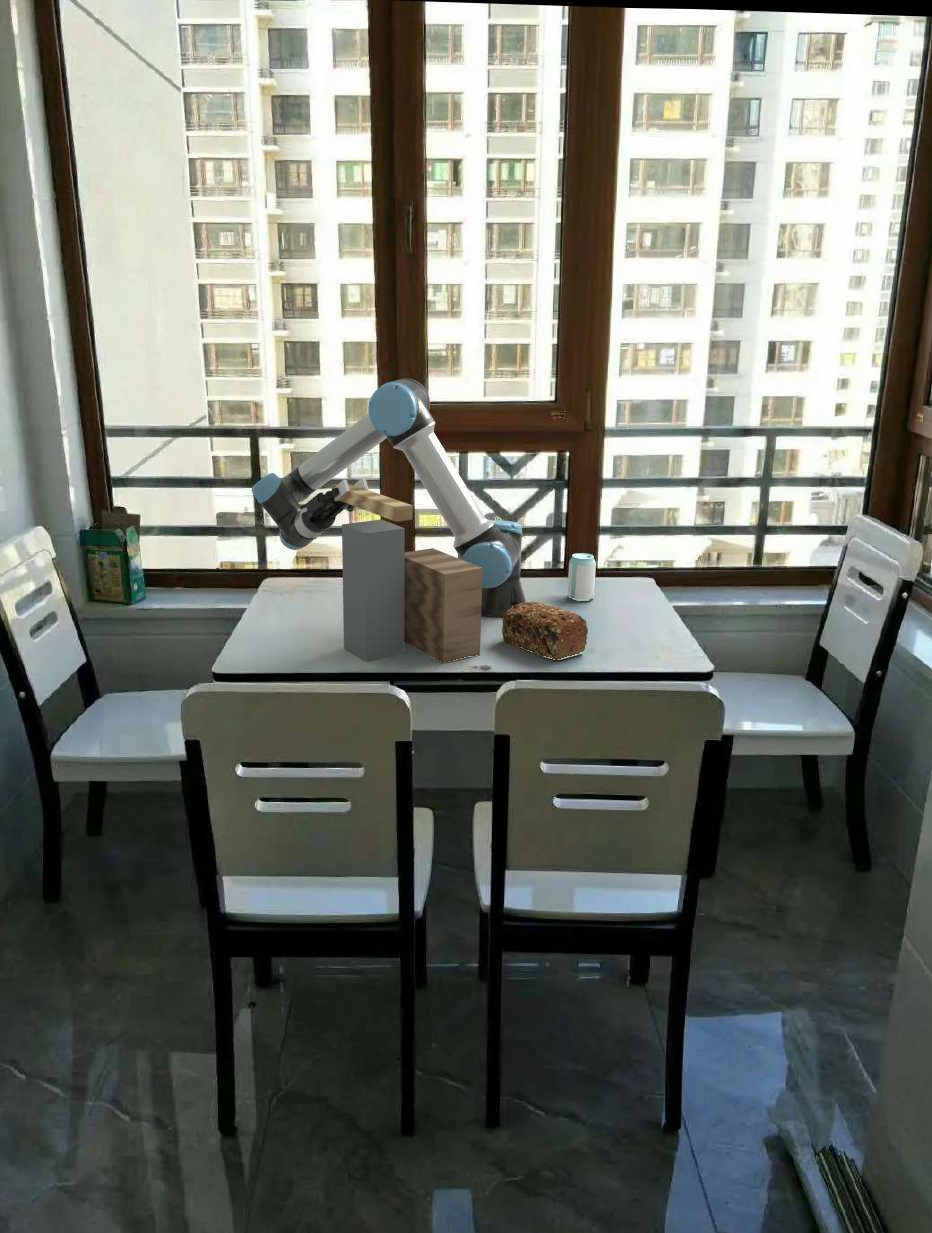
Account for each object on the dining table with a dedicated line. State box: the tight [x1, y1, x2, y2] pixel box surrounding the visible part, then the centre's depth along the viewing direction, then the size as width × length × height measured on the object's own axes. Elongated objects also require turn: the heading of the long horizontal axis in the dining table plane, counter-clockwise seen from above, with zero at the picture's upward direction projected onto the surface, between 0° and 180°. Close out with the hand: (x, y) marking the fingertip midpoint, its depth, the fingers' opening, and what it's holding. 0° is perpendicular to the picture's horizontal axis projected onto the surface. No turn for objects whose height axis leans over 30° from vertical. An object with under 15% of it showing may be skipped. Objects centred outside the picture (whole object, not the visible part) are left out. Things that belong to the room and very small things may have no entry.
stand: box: [341, 519, 406, 662], centre depth 223 cm, size 10×10×29 cm
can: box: [567, 552, 597, 599], centre depth 267 cm, size 7×7×12 cm
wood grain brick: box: [404, 547, 483, 664], centre depth 228 cm, size 20×10×20 cm, turn 35°
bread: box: [501, 601, 589, 660], centre depth 231 cm, size 19×11×10 cm, turn 39°
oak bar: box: [331, 482, 413, 522], centre depth 217 cm, size 28×4×3 cm, turn 35°
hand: (355, 484), depth 221 cm, fingers closed on oak bar, 4 cm apart
